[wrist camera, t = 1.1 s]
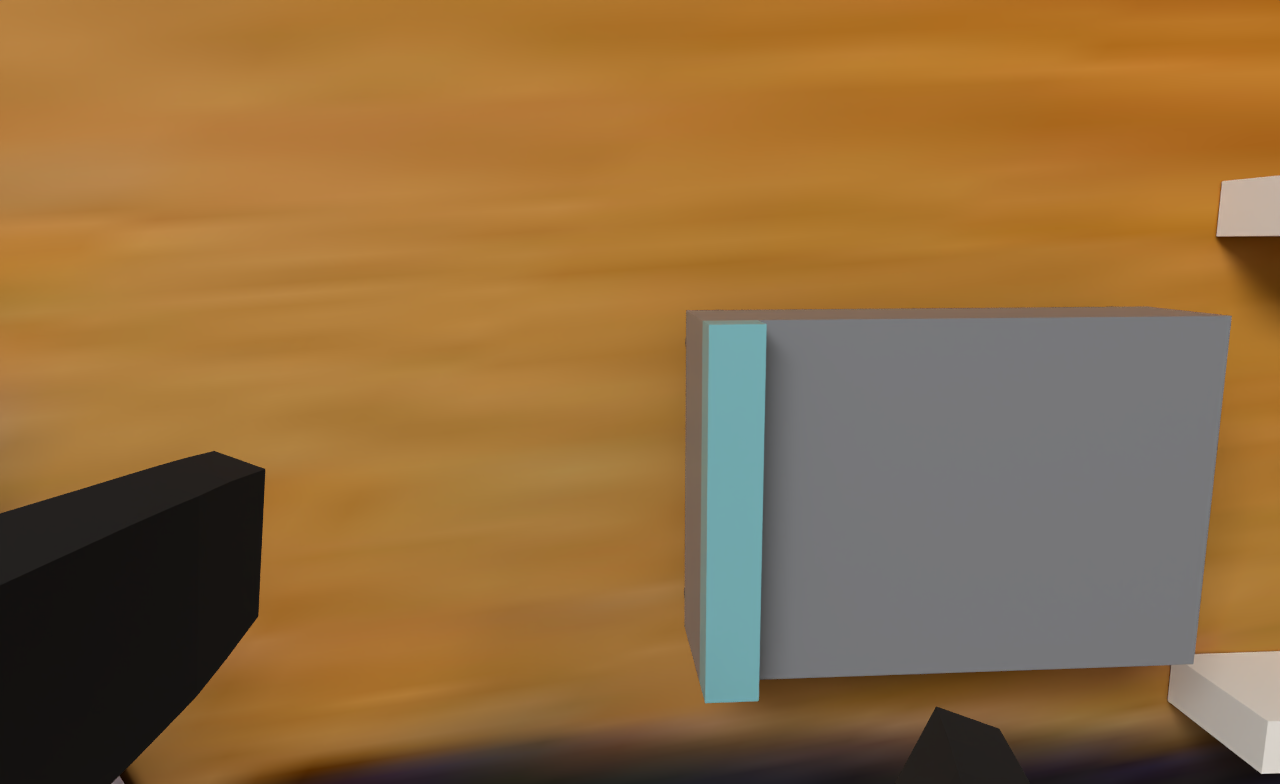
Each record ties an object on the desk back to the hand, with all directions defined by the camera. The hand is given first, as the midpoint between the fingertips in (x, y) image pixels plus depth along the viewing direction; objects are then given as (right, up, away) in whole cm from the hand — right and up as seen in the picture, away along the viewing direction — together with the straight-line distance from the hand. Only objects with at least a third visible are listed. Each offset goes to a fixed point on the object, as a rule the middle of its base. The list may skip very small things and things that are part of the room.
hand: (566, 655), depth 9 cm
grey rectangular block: (+7, +1, +11) cm, 13 cm away
